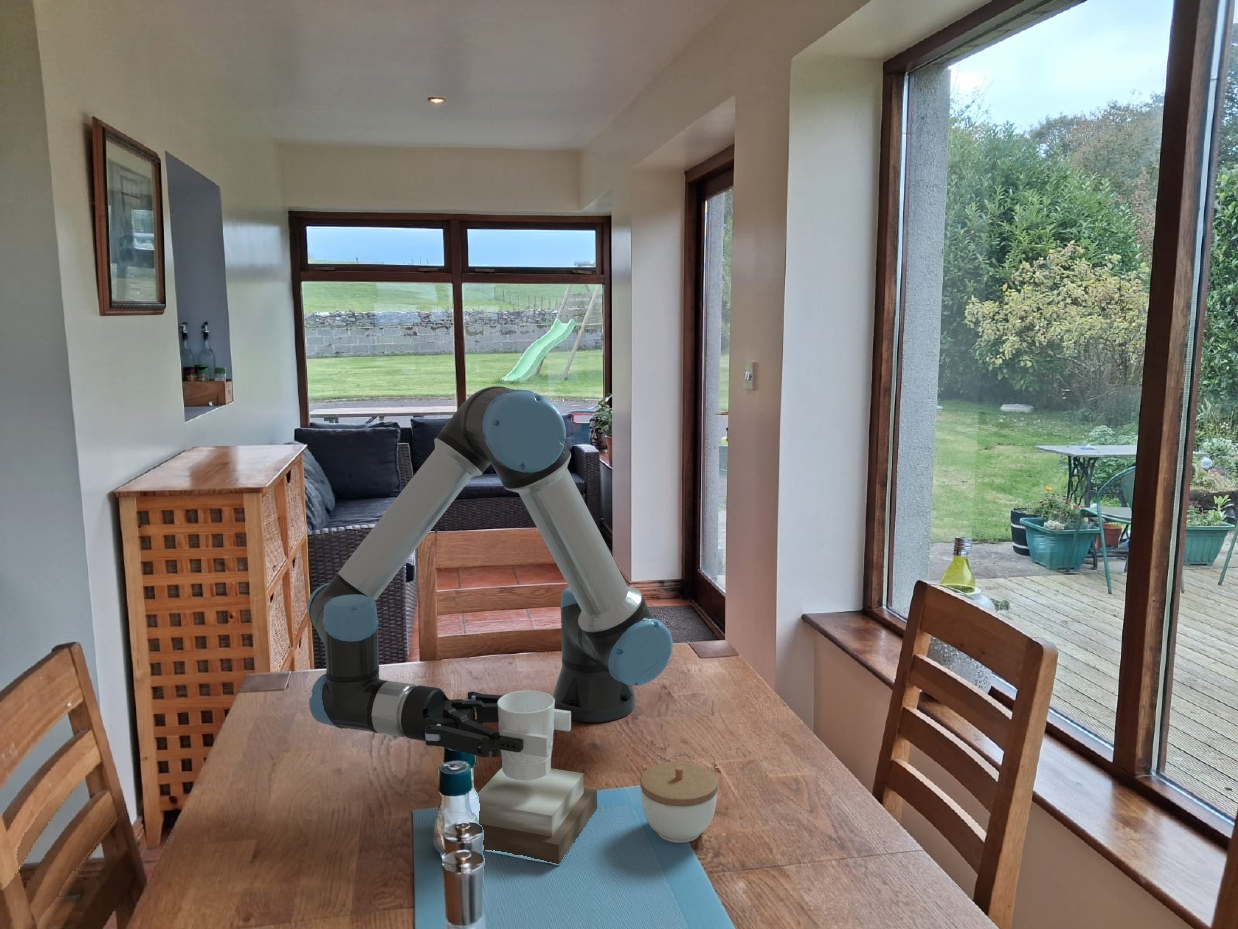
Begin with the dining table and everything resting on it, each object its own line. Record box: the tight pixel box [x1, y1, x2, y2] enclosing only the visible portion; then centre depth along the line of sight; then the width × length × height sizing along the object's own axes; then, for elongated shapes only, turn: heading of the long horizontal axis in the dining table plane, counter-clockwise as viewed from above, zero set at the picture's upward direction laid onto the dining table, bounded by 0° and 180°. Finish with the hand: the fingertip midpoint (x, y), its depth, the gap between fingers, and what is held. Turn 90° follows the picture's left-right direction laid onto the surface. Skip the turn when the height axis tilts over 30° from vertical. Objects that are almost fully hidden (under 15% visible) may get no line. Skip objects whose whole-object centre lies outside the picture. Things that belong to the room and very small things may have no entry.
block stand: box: [477, 767, 598, 864], centre depth 129 cm, size 15×15×6 cm
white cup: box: [497, 689, 555, 780], centre depth 128 cm, size 8×8×10 cm
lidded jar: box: [639, 761, 719, 844], centre depth 128 cm, size 11×11×9 cm
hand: (558, 733), depth 126 cm, fingers closed on white cup, 7 cm apart
